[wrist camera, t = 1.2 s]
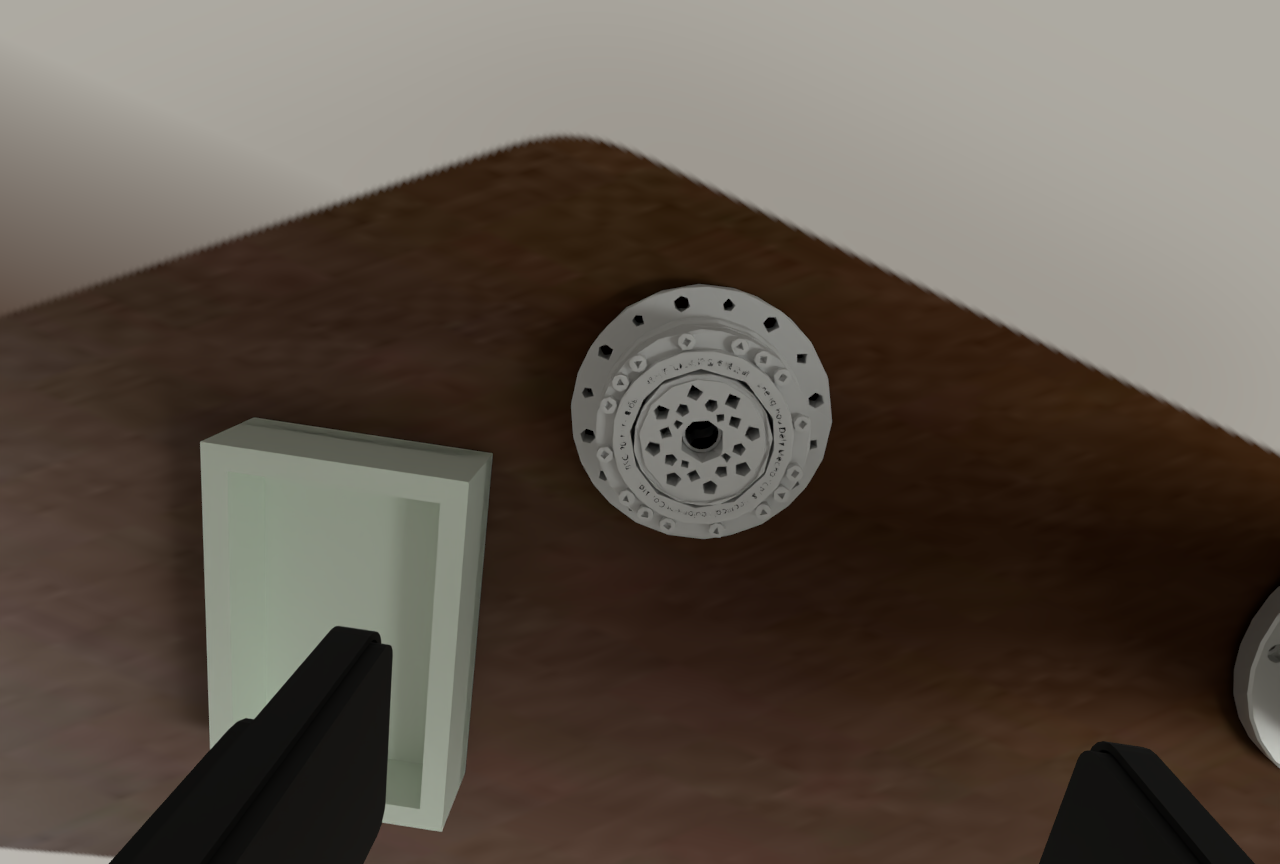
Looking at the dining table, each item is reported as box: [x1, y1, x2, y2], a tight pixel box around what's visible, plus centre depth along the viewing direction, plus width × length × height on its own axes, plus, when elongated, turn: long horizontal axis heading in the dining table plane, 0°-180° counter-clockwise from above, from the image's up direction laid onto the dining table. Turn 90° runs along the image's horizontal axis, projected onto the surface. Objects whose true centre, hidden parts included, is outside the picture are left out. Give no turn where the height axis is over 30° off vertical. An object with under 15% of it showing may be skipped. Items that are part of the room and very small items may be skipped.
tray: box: [200, 417, 493, 832], centre depth 30 cm, size 10×16×4 cm, turn 172°
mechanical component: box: [571, 284, 832, 539], centre depth 27 cm, size 10×4×10 cm
